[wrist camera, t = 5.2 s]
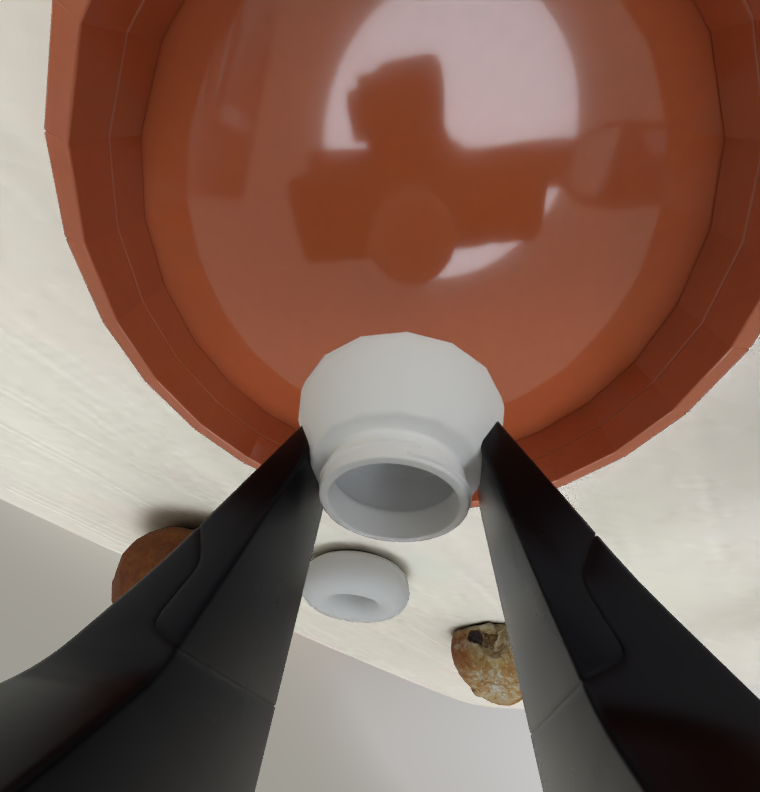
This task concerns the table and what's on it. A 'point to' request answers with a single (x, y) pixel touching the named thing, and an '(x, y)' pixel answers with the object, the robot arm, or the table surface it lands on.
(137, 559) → the potato
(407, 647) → the table surface
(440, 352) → the white jar
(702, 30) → the terracotta round tray
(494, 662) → the bread roll
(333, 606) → the donut
